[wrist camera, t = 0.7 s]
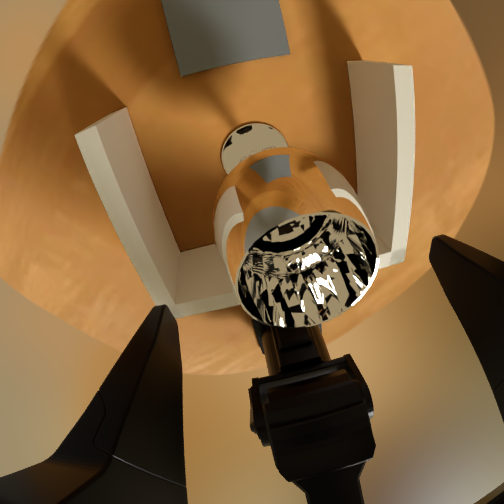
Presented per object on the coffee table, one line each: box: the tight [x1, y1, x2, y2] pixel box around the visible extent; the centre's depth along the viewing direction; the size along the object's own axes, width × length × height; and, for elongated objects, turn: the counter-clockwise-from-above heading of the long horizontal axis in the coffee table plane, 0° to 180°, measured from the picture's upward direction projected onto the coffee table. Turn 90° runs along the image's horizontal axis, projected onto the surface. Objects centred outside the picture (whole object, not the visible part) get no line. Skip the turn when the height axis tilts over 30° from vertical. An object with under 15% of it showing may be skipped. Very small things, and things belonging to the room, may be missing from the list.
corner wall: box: [75, 60, 415, 318], centre depth 17 cm, size 13×16×6 cm
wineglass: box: [212, 123, 379, 329], centre depth 14 cm, size 6×6×12 cm
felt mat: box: [161, 0, 290, 77], centre depth 13 cm, size 6×6×1 cm
